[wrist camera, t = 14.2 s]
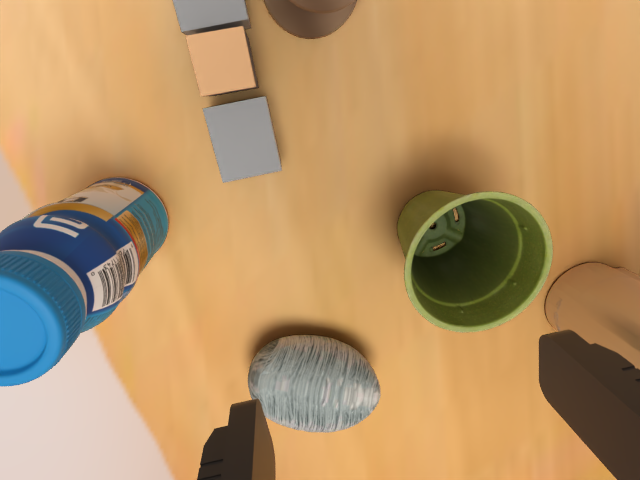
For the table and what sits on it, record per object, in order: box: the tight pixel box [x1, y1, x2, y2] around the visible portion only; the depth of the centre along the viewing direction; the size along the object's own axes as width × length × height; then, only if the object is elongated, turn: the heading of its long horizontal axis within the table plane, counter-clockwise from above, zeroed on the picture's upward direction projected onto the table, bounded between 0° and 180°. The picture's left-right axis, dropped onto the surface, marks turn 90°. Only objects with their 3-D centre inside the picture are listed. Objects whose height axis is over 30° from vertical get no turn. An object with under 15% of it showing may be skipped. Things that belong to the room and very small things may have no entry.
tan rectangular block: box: [186, 26, 259, 96], centre depth 33 cm, size 4×4×7 cm
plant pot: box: [397, 190, 553, 332], centre depth 37 cm, size 12×12×11 cm
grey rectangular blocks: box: [173, 0, 282, 183], centre depth 34 cm, size 5×18×4 cm, turn 10°
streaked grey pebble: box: [248, 335, 380, 432], centre depth 43 cm, size 14×10×10 cm
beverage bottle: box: [0, 177, 168, 386], centre depth 30 cm, size 8×8×20 cm
